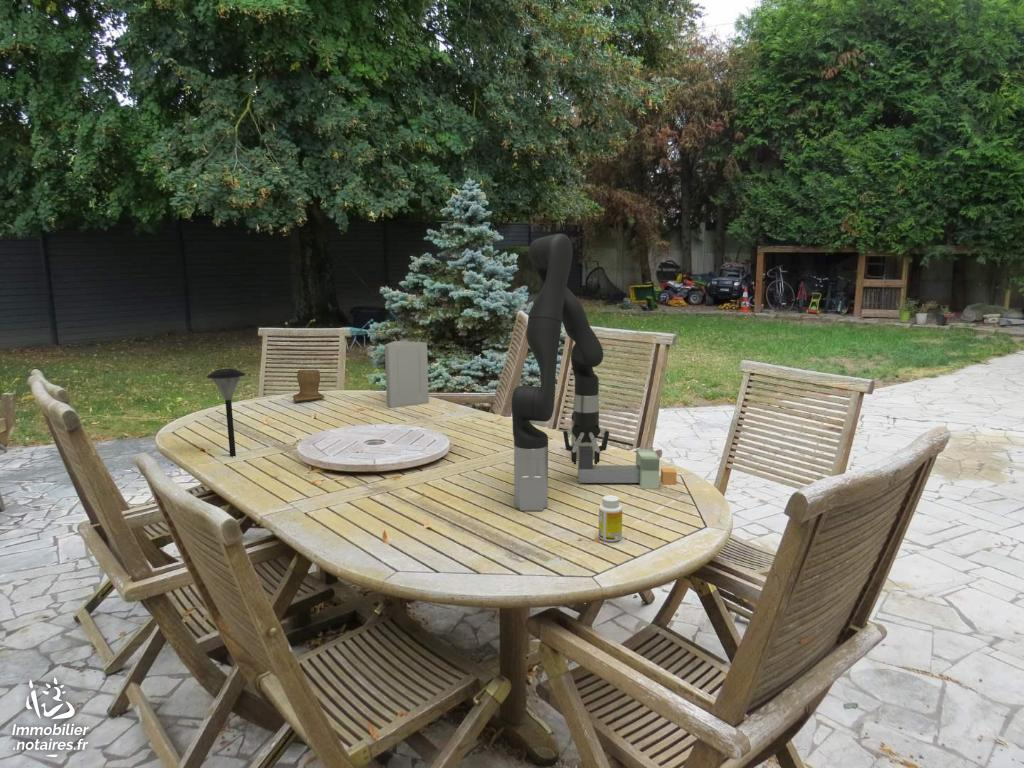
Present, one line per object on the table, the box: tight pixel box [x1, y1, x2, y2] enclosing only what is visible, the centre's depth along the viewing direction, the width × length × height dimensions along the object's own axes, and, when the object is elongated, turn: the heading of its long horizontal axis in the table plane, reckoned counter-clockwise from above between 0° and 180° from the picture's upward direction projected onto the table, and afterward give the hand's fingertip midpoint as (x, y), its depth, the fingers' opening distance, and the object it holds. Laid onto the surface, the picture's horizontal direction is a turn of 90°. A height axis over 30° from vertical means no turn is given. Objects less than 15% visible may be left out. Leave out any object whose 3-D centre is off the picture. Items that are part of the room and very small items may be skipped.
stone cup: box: [292, 369, 325, 403], centre depth 325 cm, size 15×12×15 cm
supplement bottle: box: [598, 494, 623, 543], centre depth 166 cm, size 6×6×10 cm
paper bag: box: [384, 340, 430, 409], centre depth 317 cm, size 19×15×28 cm
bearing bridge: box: [635, 448, 660, 490], centre depth 206 cm, size 11×5×9 cm, turn 179°
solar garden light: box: [206, 368, 246, 457], centre depth 233 cm, size 12×12×30 cm
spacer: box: [660, 467, 678, 486], centre depth 207 cm, size 4×4×4 cm
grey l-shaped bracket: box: [577, 446, 640, 484], centre depth 206 cm, size 4×22×10 cm, turn 89°
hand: (585, 463), depth 206 cm, fingers open, 5 cm apart
